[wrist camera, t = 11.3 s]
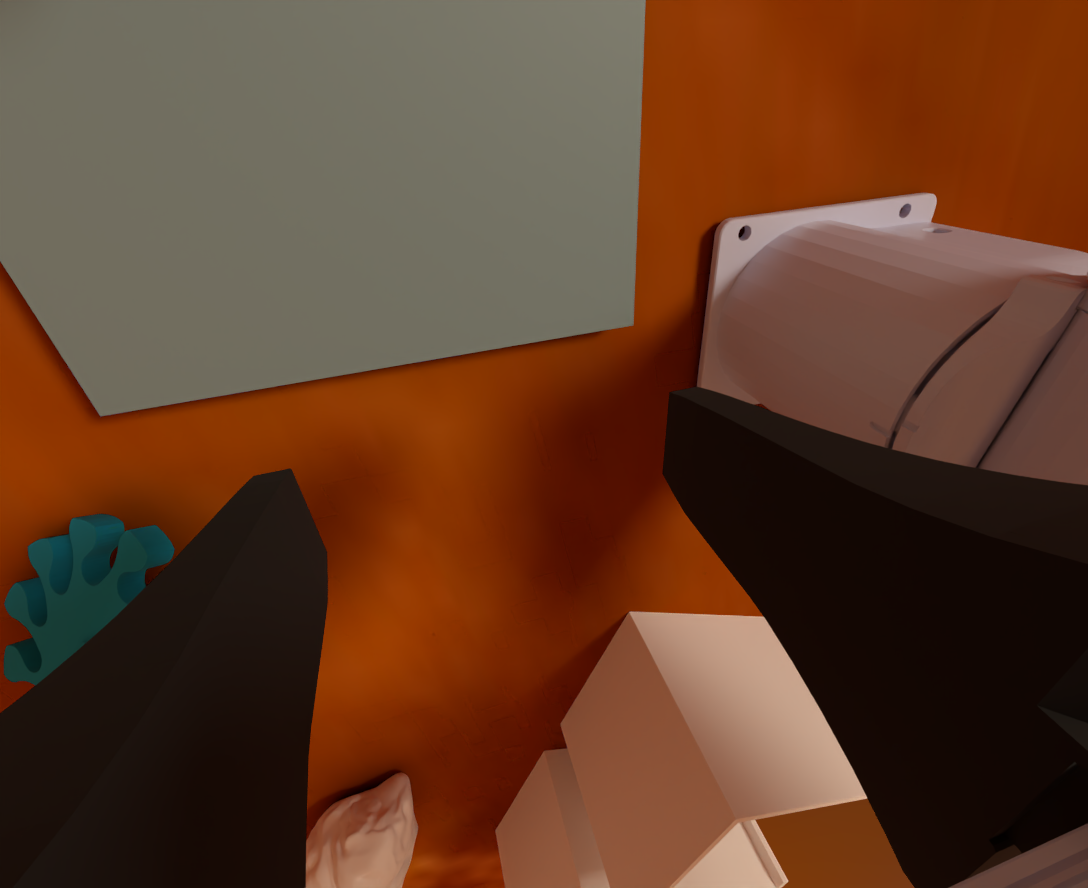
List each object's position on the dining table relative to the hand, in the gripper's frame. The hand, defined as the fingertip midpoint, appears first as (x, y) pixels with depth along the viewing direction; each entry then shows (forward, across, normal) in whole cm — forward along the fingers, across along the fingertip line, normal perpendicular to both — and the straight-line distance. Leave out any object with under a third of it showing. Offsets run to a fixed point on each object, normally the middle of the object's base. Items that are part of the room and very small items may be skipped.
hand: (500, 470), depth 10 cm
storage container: (+10, -7, +33) cm, 35 cm away
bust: (+10, +11, +31) cm, 34 cm away
